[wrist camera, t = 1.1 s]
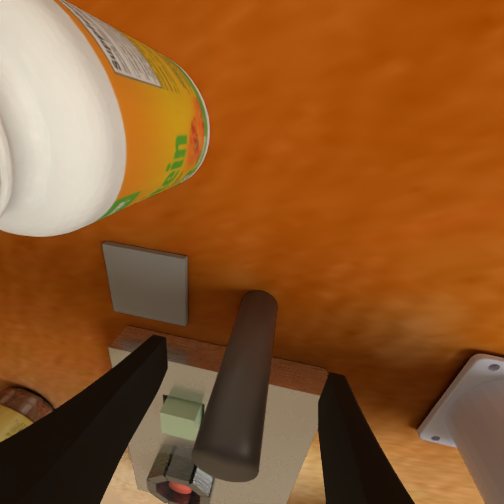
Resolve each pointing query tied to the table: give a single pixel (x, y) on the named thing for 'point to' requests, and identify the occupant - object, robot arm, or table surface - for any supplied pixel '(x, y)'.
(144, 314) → the pad
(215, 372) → the panel
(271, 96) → the table surface
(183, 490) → the trip button
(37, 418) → the sauce bottle
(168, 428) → the pad
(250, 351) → the dark grey cylinder
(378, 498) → the robot arm
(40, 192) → the supplement bottle
